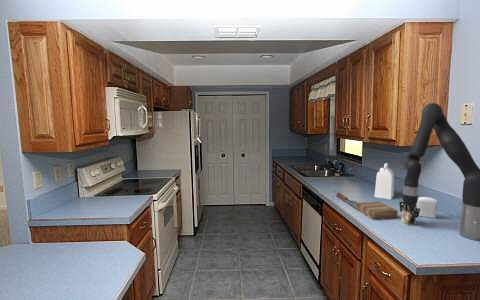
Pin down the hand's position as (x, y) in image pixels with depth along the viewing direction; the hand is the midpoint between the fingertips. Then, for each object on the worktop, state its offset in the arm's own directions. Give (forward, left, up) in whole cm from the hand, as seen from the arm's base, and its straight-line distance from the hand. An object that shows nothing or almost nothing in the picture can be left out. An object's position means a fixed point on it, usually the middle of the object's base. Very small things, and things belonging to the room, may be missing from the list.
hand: (408, 221), depth 163 cm
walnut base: (+17, +9, -1) cm, 19 cm away
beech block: (0, 0, -1) cm, 1 cm away
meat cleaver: (+41, +11, -2) cm, 42 cm away
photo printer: (+8, -19, -1) cm, 21 cm away
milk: (+52, -22, -1) cm, 56 cm away
